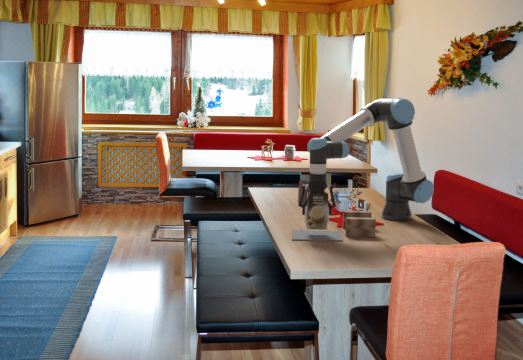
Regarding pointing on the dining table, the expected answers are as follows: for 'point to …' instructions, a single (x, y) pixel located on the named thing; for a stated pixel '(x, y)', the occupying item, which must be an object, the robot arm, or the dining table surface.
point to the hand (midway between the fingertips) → (316, 222)
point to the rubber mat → (316, 235)
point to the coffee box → (317, 211)
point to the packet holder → (359, 223)
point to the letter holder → (301, 190)
